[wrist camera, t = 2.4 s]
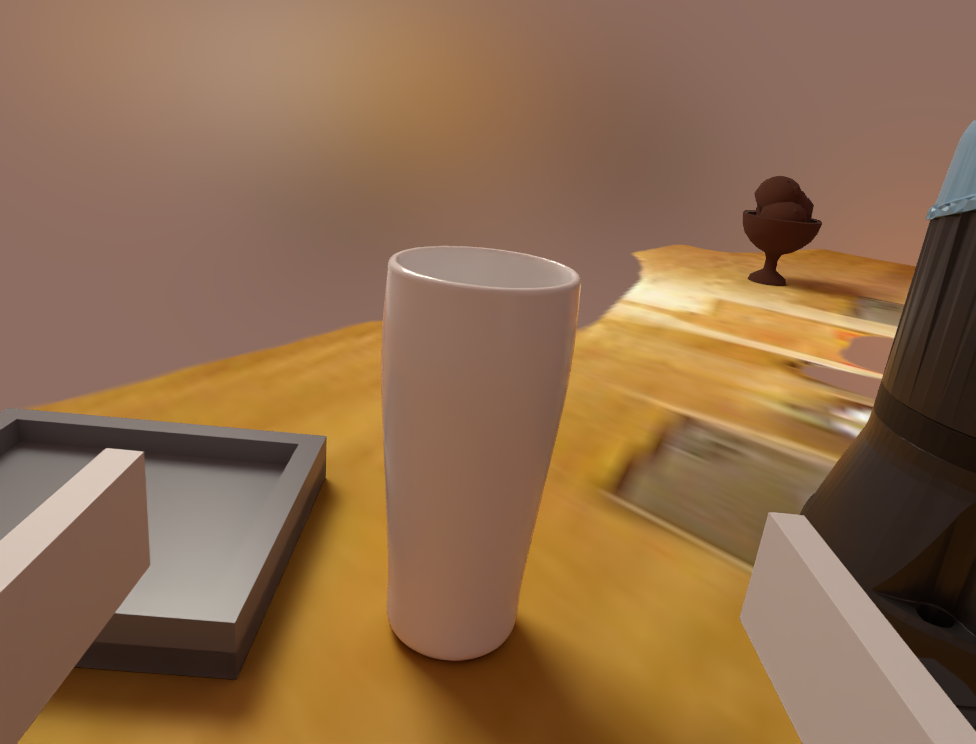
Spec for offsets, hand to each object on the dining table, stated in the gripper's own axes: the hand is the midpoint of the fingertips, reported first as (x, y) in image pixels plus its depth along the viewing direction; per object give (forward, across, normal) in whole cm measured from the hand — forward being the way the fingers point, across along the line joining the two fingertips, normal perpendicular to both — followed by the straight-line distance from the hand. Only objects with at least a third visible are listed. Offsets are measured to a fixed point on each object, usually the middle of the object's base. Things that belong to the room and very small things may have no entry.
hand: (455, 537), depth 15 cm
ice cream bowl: (+91, +44, -10) cm, 102 cm away
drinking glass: (+11, 0, -12) cm, 16 cm away
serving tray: (+15, -16, -12) cm, 24 cm away
